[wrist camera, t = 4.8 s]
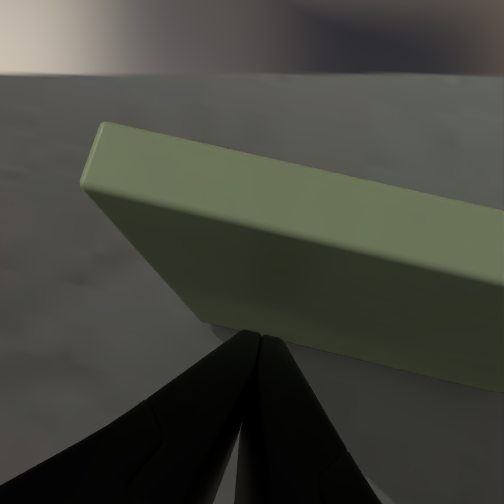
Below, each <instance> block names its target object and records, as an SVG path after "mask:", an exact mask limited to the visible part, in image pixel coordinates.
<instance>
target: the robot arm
mask: <svg viewBox="0 0 504 504" xmlns="http://www.w3.org/2000/svg"><path fill="white" fill-rule="evenodd" d="M261 337H262V338H261ZM242 419H243V420H242ZM241 423H242V425H241ZM240 427H241V430H240ZM239 431H240V438H239V449H238V462H237V475H236V488H235V501H234V504H382V503H381V502H380V500H379V499H378V497H377V496H376V495H375V493H374V492H373V490H372V488H371V487H370V485H369V484H368V482H367V480H366V479H365V477H364V476H363V474H362V473H361V471H360V469H359V468H358V466H357V464H356V463H355V461H354V459H353V458H352V456H351V454H350V453H349V452H347V449H346V447H345V445H344V444H343V442H342V440H341V438H340V437H339V435H338V433H337V432H336V430H335V428H334V427H333V425H332V423H331V421H330V420H329V418H328V416H327V415H326V413H325V411H324V410H323V408H322V406H321V404H320V403H319V401H318V399H317V398H316V396H315V394H314V393H313V391H312V389H311V387H310V386H309V384H308V382H307V381H306V379H305V377H304V375H303V374H302V372H301V370H300V369H299V367H298V365H297V364H296V362H295V360H294V358H293V357H292V355H291V353H290V352H289V350H288V348H287V347H286V345H285V343H284V341H283V340H282V339H281V338H279V337H275V336H271V335H267V334H265V335H263V336H261V334H260V333H259V332H255V331H250V330H246V329H243V330H241V331H240V332H238V333H237V334H236V335H234V336H233V337H232V338H230V339H229V340H227V341H226V342H225V343H223V344H222V345H220V346H219V347H218V348H216V349H215V350H214V351H212V352H211V353H209V354H208V355H207V356H205V357H204V358H202V359H201V360H200V361H198V362H197V363H196V364H194V365H193V366H191V367H190V368H189V369H187V370H186V371H184V372H183V373H182V374H180V375H179V376H178V377H176V378H175V379H173V380H172V381H171V382H169V383H168V384H166V385H165V386H164V387H162V388H161V389H160V390H158V391H157V392H155V393H154V394H153V395H151V396H150V397H148V398H147V399H146V400H143V401H142V402H140V403H139V404H138V405H136V406H135V407H134V408H132V409H131V410H129V411H128V412H126V413H125V414H123V415H122V416H120V417H119V418H117V419H116V420H114V421H113V422H111V423H110V424H108V425H107V426H105V427H103V428H102V429H100V430H98V431H97V432H95V433H93V434H92V435H90V436H88V437H86V438H85V439H83V440H81V441H80V442H78V443H76V444H74V445H72V446H71V447H69V448H67V449H65V450H63V451H62V452H60V453H58V454H56V455H54V456H53V457H51V458H49V459H47V460H45V461H44V462H42V463H40V464H38V465H36V466H35V467H33V468H31V469H29V470H27V471H26V472H24V473H22V474H20V475H18V476H17V477H15V478H13V479H11V480H9V481H7V482H6V483H4V484H2V485H0V504H213V501H214V499H215V496H216V493H217V491H218V488H219V485H220V483H221V480H222V478H223V475H224V472H225V470H226V467H227V464H228V462H229V459H230V456H231V454H232V451H233V448H234V446H235V443H236V440H237V437H238V434H239Z"/></svg>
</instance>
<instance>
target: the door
mask: <svg viewBox="0 0 504 504" xmlns="http://www.w3.org/2000/svg"><path fill="white" fill-rule="evenodd" d="M80 187H81V188H82V190H83V191H84V192H85V193H86V194H87V195H88V196H89V197H90V198H91V200H92V201H93V202H94V203H95V204H96V205H97V206H98V207H99V209H100V210H101V211H102V212H103V213H104V214H105V215H106V216H107V217H108V219H109V220H110V221H111V222H112V223H113V224H114V225H115V226H116V227H117V229H118V230H119V231H120V232H121V233H122V234H123V235H124V236H125V237H126V239H127V240H128V241H129V242H130V243H131V244H132V245H133V246H134V247H135V249H136V250H137V251H138V252H139V253H140V254H141V255H142V256H143V258H144V259H145V260H146V261H147V262H148V263H149V264H150V265H151V266H152V268H153V269H154V270H155V271H156V272H157V273H158V274H159V275H160V276H161V278H162V279H163V280H164V281H165V282H166V283H167V284H168V285H169V286H170V288H171V289H172V290H173V291H174V292H175V293H176V294H177V295H178V297H179V298H180V299H181V300H182V301H183V302H184V303H185V304H186V305H187V307H188V308H189V309H190V310H191V311H192V312H193V313H194V314H195V315H196V317H197V318H198V319H199V320H200V321H202V322H206V323H210V324H214V325H219V326H223V327H227V328H231V329H235V330H239V331H241V330H243V329H246V330H250V331H255V332H259V333H260V334H261V336H263V335H265V334H267V335H271V336H275V337H279V338H281V339H282V340H283V341H285V342H289V343H293V344H297V345H301V346H305V347H309V348H314V349H318V350H322V351H326V352H330V353H334V354H338V355H342V356H347V357H351V358H355V359H359V360H363V361H367V362H371V363H376V364H380V365H384V366H388V367H392V368H396V369H400V370H404V371H409V372H413V373H417V374H421V375H425V376H429V377H433V378H437V379H442V380H446V381H450V382H454V383H458V384H462V385H466V386H470V387H475V388H479V389H483V390H487V391H493V392H504V211H503V210H499V209H494V208H490V207H485V206H481V205H476V204H472V203H467V202H463V201H459V200H454V199H450V198H445V197H441V196H436V195H432V194H427V193H423V192H418V191H414V190H410V189H405V188H401V187H396V186H392V185H387V184H383V183H378V182H374V181H370V180H365V179H361V178H356V177H352V176H347V175H343V174H338V173H334V172H329V171H325V170H321V169H316V168H312V167H307V166H303V165H298V164H294V163H289V162H285V161H280V160H276V159H272V158H267V157H263V156H258V155H254V154H249V153H245V152H240V151H236V150H231V149H227V148H223V147H218V146H214V145H209V144H205V143H200V142H196V141H191V140H187V139H183V138H178V137H174V136H169V135H165V134H160V133H156V132H151V131H147V130H142V129H138V128H134V127H129V126H125V125H120V124H116V123H111V122H102V123H101V125H100V126H99V129H98V132H97V135H96V137H95V140H94V143H93V146H92V148H91V151H90V154H89V157H88V160H87V162H86V165H85V168H84V171H83V174H82V176H81V179H80Z"/></svg>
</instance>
